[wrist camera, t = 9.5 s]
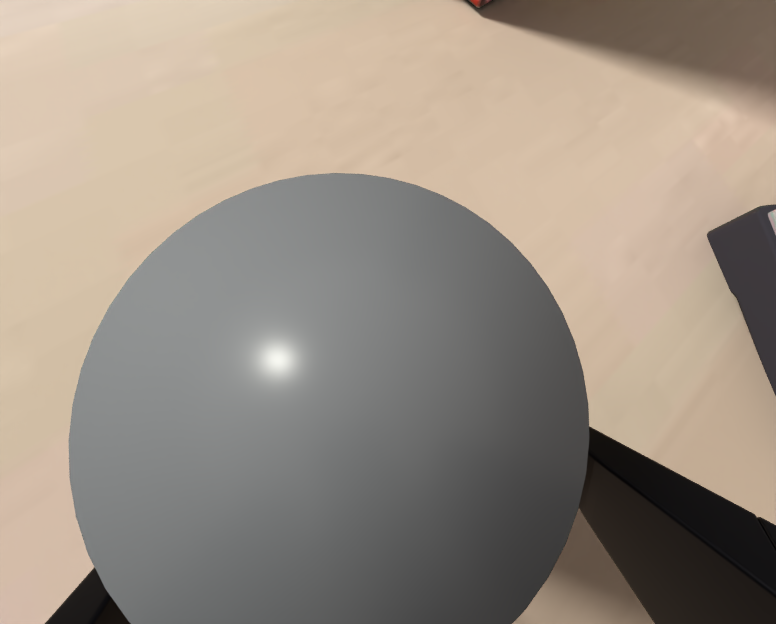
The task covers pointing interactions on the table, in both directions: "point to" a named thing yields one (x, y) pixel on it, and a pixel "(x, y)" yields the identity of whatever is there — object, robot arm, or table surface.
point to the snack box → (479, 2)
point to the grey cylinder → (329, 416)
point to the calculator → (752, 275)
